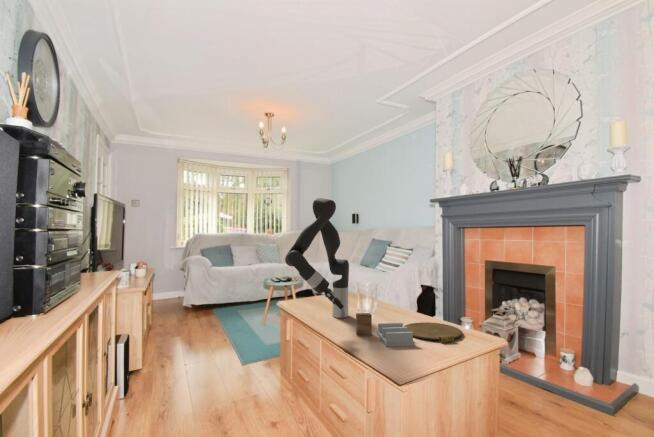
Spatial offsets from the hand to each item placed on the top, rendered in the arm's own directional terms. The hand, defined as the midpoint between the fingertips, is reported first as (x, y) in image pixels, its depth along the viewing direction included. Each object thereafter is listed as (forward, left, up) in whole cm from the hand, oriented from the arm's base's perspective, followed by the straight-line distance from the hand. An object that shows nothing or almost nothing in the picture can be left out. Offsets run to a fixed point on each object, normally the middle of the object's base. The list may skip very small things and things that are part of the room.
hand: (341, 305), depth 152 cm
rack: (+8, +24, -14) cm, 29 cm away
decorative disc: (0, +46, -15) cm, 49 cm away
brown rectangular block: (0, +11, -14) cm, 18 cm away
